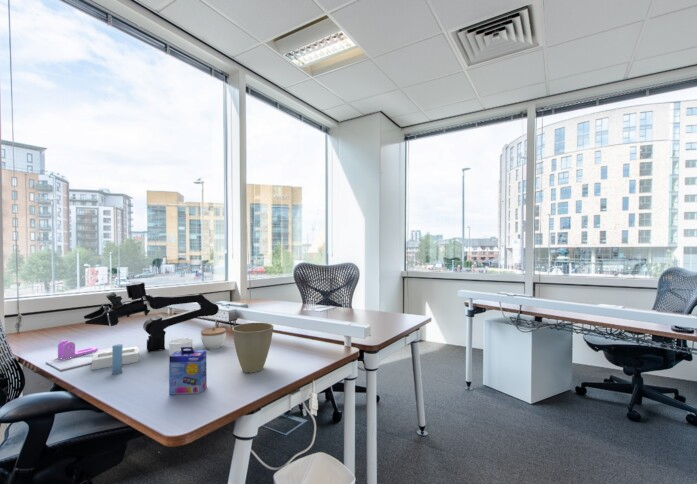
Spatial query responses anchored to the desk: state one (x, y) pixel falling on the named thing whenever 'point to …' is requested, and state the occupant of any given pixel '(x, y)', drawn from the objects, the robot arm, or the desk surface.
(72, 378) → the desk surface
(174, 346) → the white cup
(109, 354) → the hole block
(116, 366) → the peg
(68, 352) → the bracket
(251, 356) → the plant pot
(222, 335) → the lidded jar
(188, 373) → the ink cartridge box
